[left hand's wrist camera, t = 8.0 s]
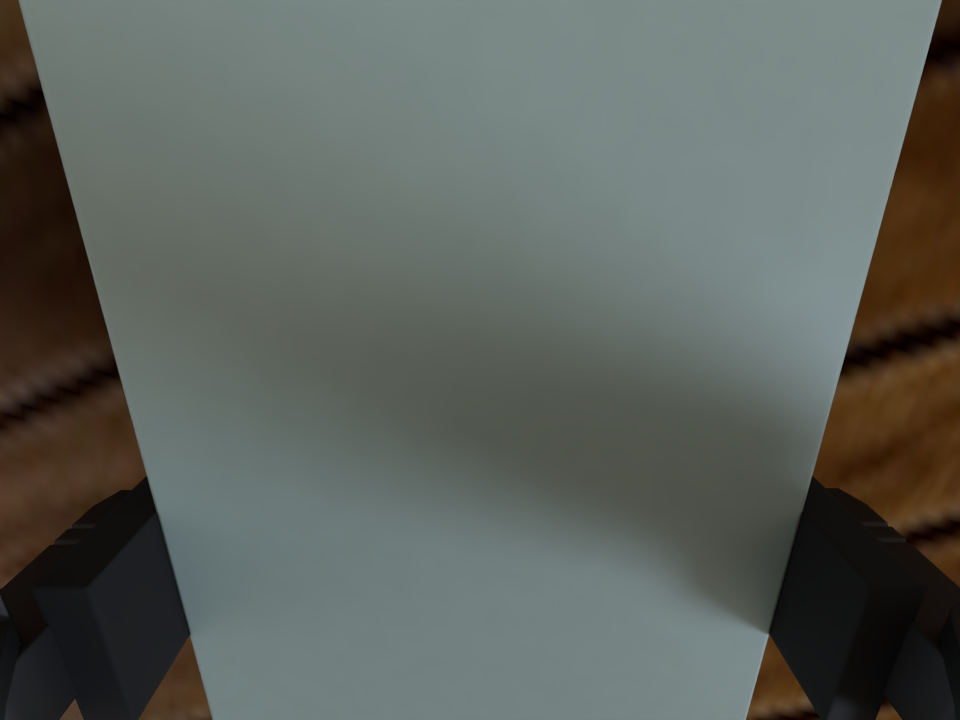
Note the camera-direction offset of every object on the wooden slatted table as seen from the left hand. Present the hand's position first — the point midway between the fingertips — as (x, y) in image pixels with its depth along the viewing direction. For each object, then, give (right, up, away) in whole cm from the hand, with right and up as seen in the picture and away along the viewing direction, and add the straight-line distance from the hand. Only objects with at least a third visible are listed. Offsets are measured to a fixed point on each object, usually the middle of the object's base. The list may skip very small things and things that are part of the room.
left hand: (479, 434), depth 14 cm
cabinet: (0, +7, +2) cm, 7 cm away
